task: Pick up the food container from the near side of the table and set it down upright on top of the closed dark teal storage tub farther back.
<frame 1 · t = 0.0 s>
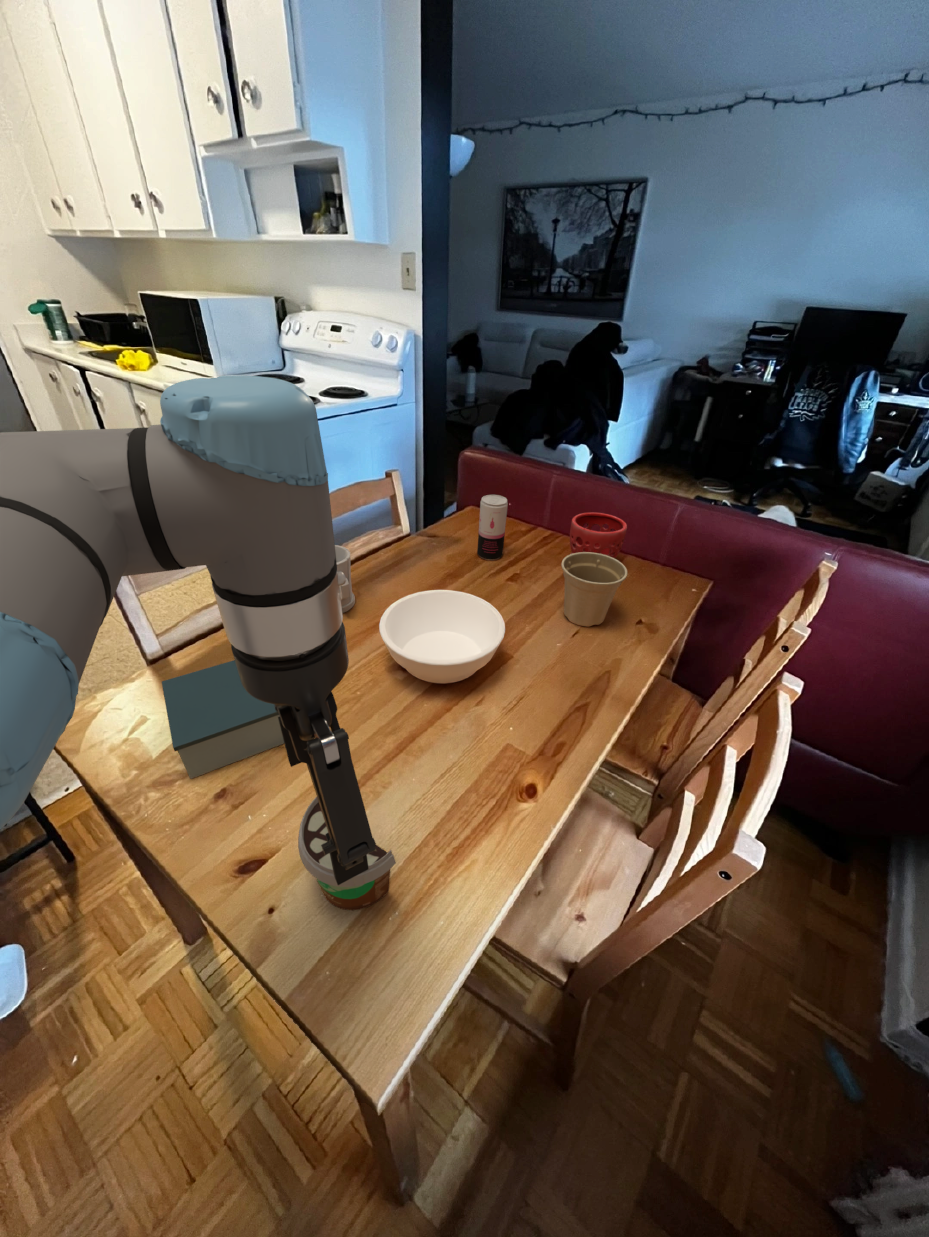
hand: (325, 810, 46), 19 cm above the table, tool pointing down, fingers open, 13 cm apart
food container: (341, 889, 59), on the table
bowl: (441, 659, 94), on the table
cup: (337, 606, 107), on the table
beverage can: (489, 555, 128), on the table
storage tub: (239, 725, 78), on the table
flower pot: (583, 616, 108), on the table
flower pot 2: (590, 565, 126), on the table
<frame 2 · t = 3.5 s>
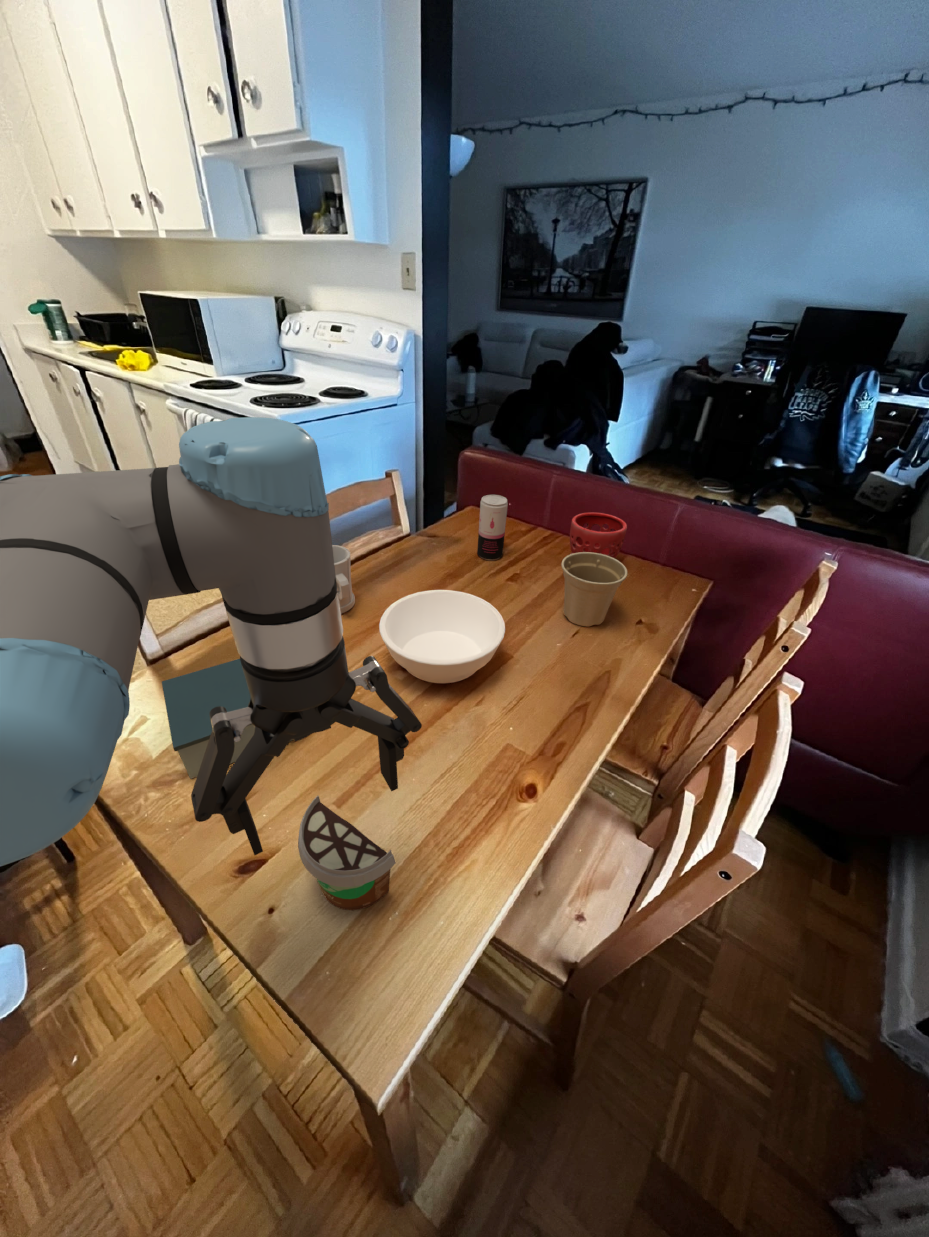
hand: (326, 809, 49), 16 cm above the table, tool pointing down, fingers open, 13 cm apart
nothing on the table moved.
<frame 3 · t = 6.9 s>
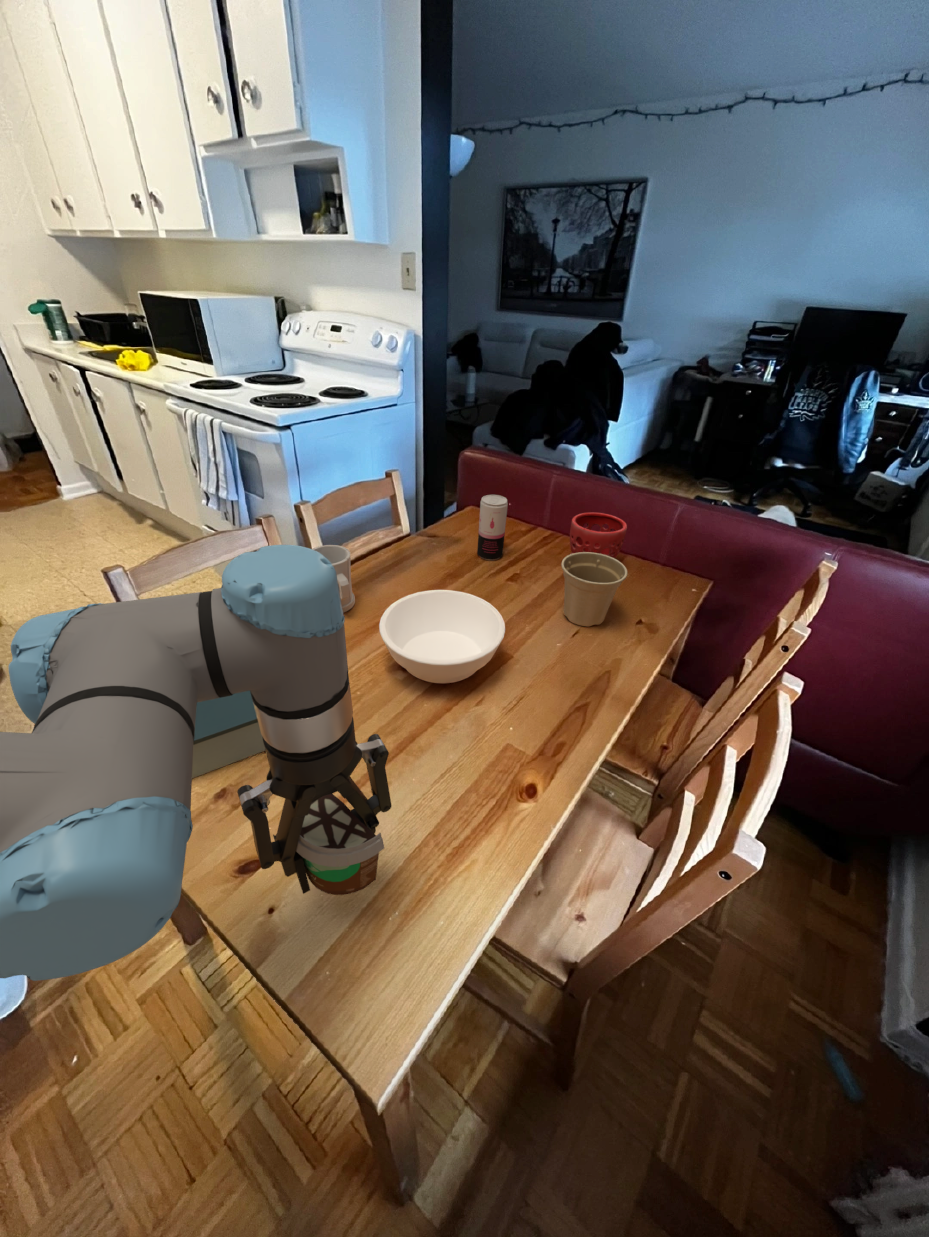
hand: (333, 865, 56), 6 cm above the table, tool pointing down, fingers closed on food container, 6 cm apart
food container: (326, 872, 56), point 5 cm above the table, touching gripper
everything else where it was.
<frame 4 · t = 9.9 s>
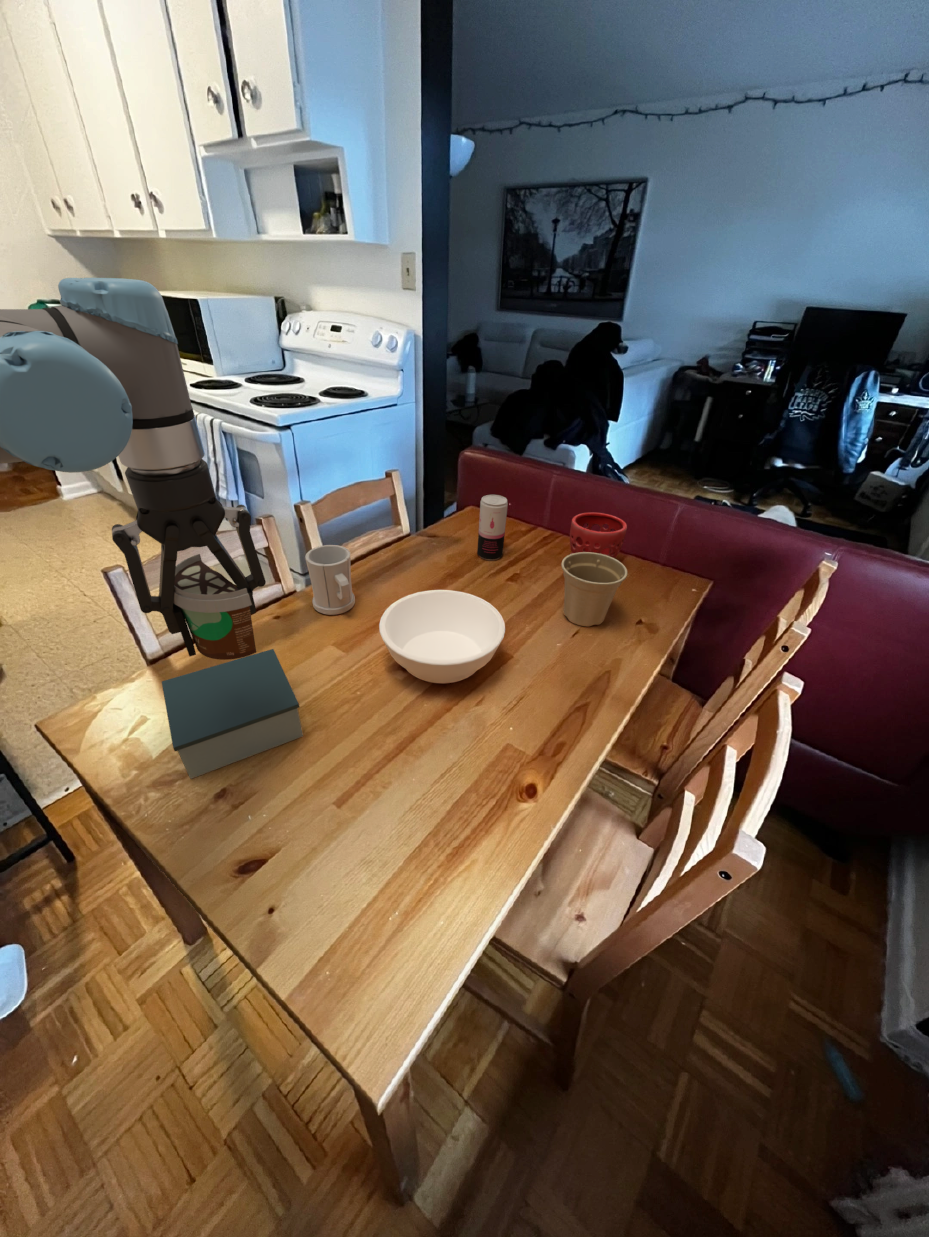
hand: (220, 641, 64), 20 cm above the table, tool pointing down, fingers closed on food container, 6 cm apart
food container: (214, 647, 64), point 19 cm above the table, touching gripper
everything else where it was.
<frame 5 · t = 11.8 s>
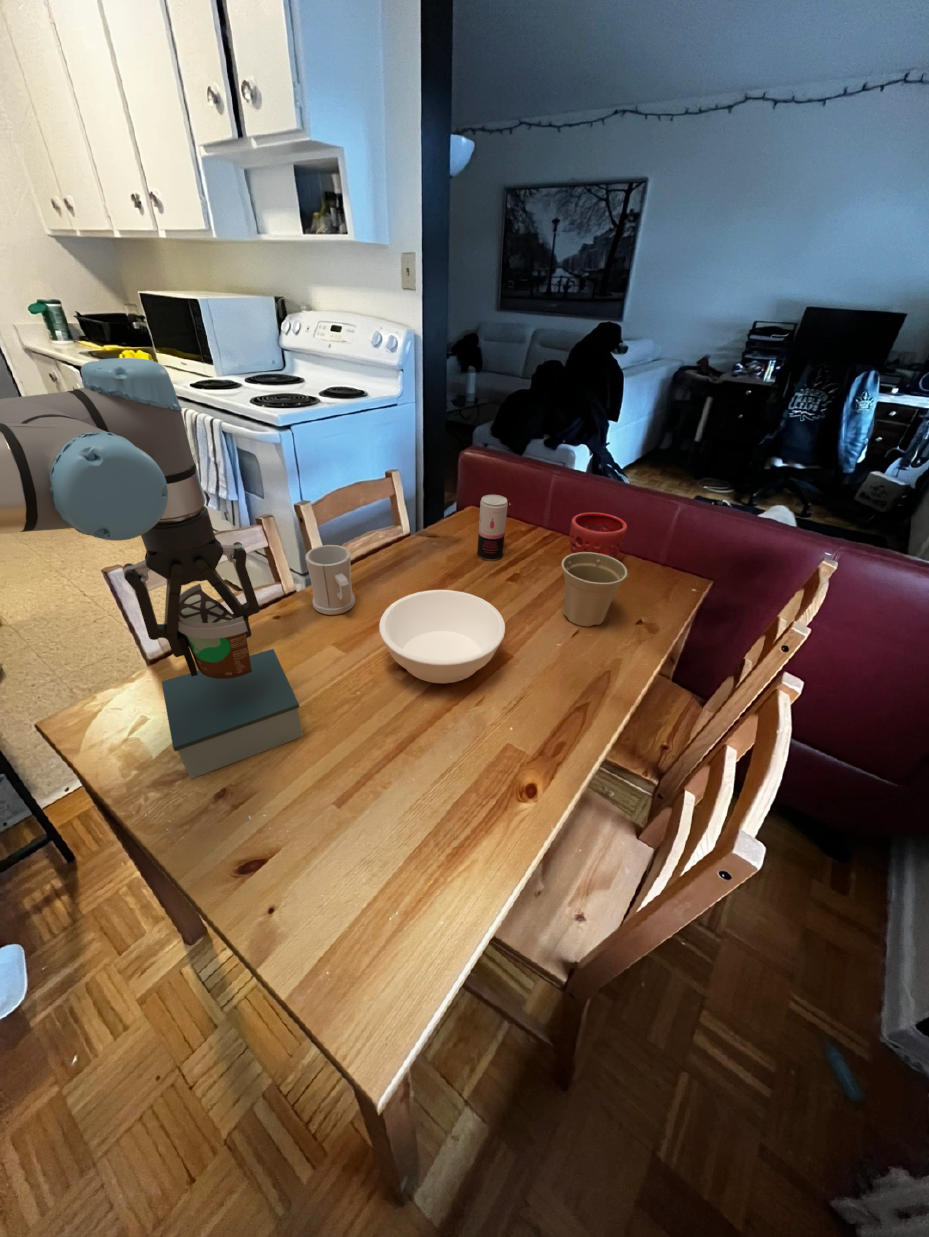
hand: (219, 662, 71), 13 cm above the table, tool pointing down, fingers closed on food container, 6 cm apart
food container: (214, 667, 71), point 12 cm above the table, touching gripper
everything else where it was.
when the fingers open (8 cm above the table, at t = 13.3 s): food container stays where it is, resting on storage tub.
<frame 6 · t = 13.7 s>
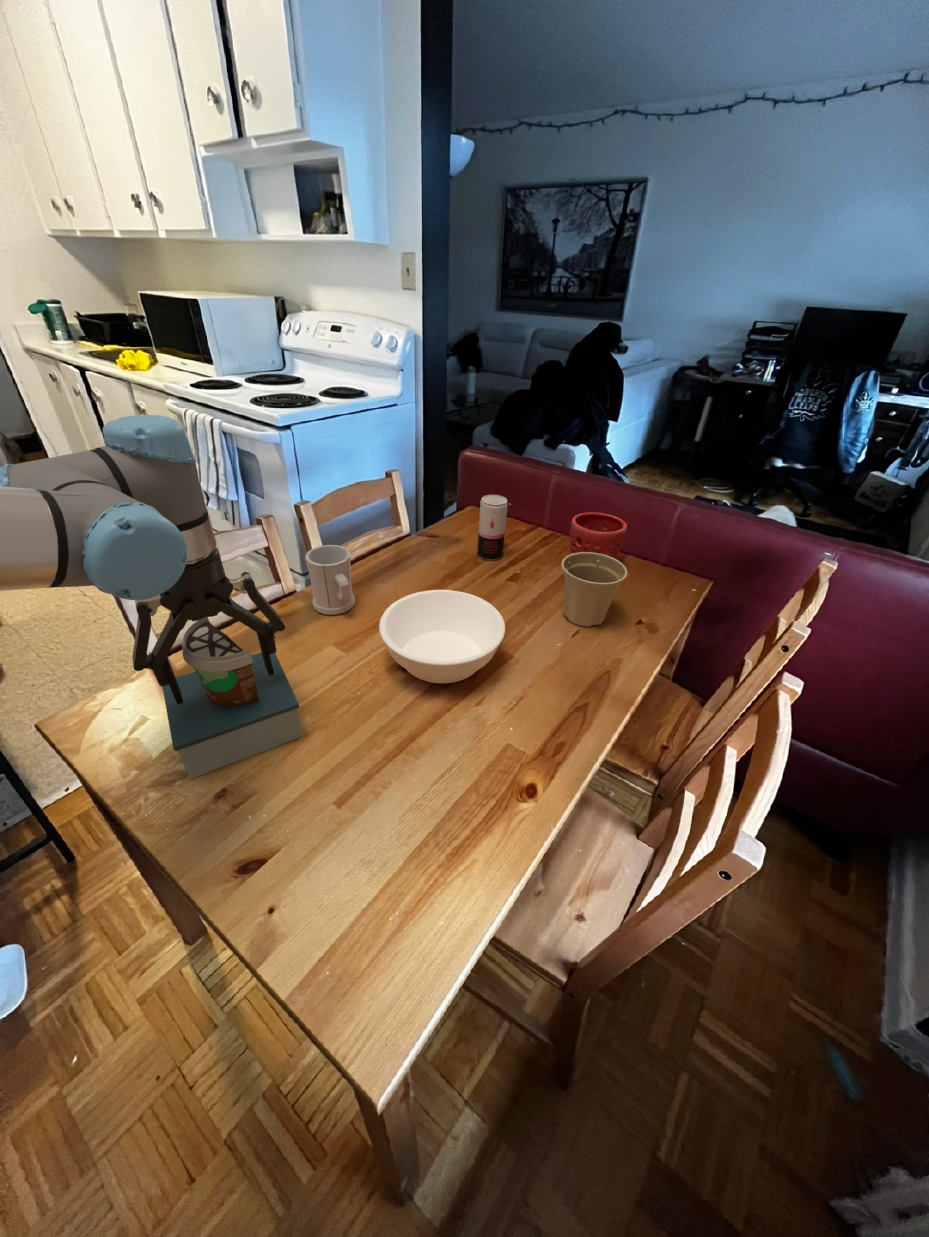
hand: (226, 683, 73), 9 cm above the table, tool pointing down, fingers open, 12 cm apart
food container: (223, 695, 74), point 7 cm above the table, touching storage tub
everything else where it was.
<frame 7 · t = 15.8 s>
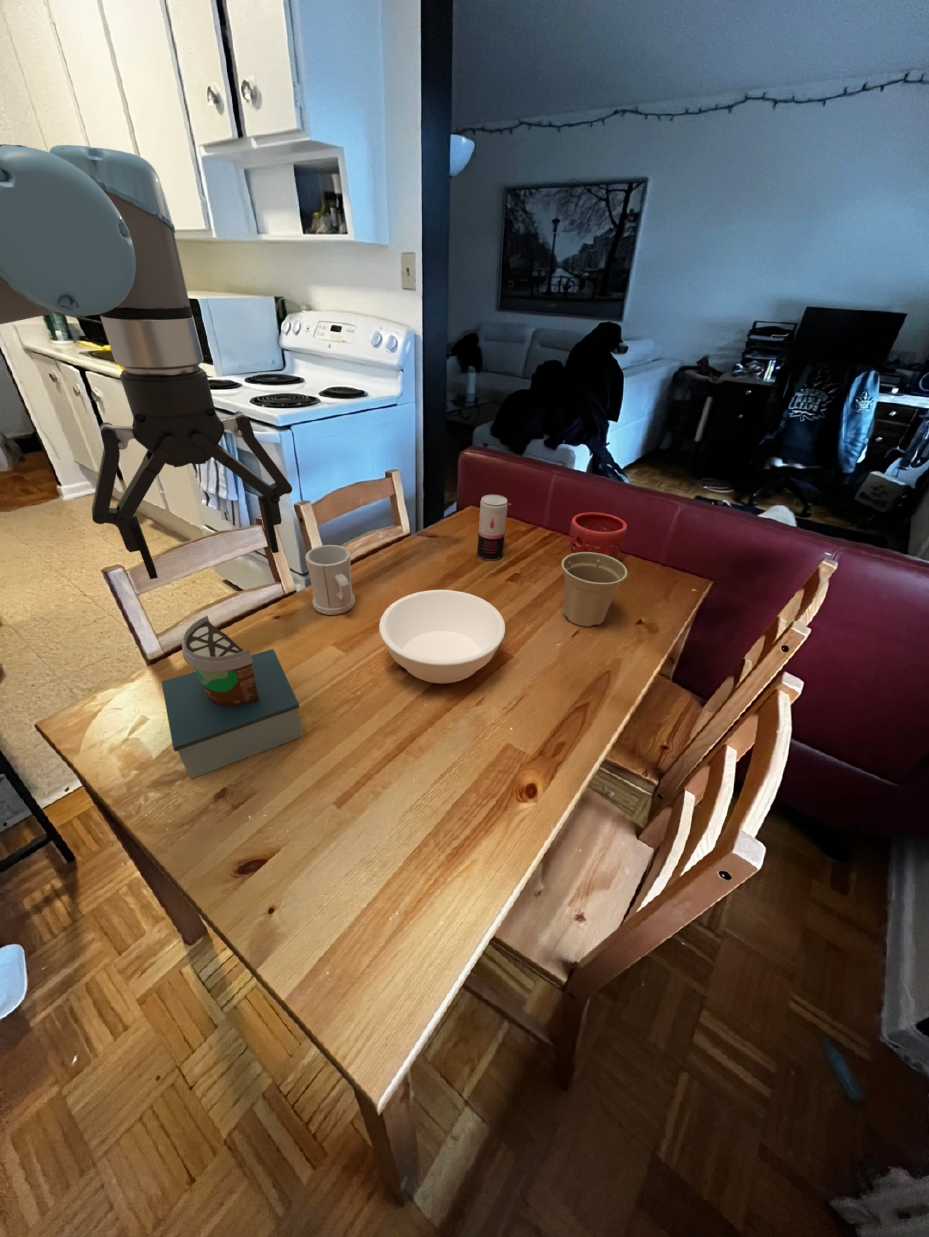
hand: (216, 560, 61), 30 cm above the table, tool pointing down, fingers open, 13 cm apart
nothing on the table moved.
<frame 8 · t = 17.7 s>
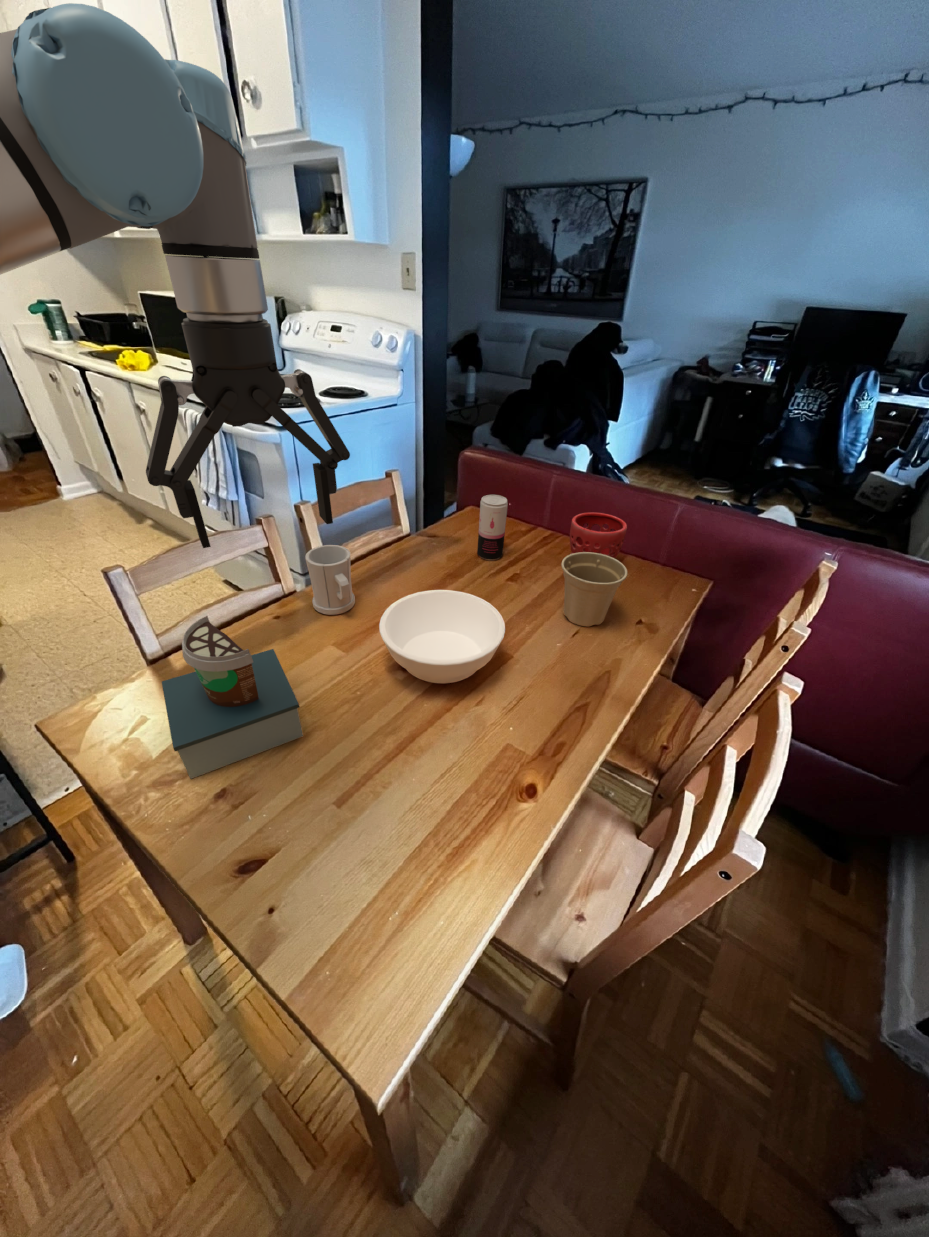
hand: (268, 530, 57), 35 cm above the table, tool pointing down, fingers open, 13 cm apart
nothing on the table moved.
at the end: food container inside the target area on the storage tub (0.8 cm from its centre), point 7.0 cm above the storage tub's base; food container tilted 0° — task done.
